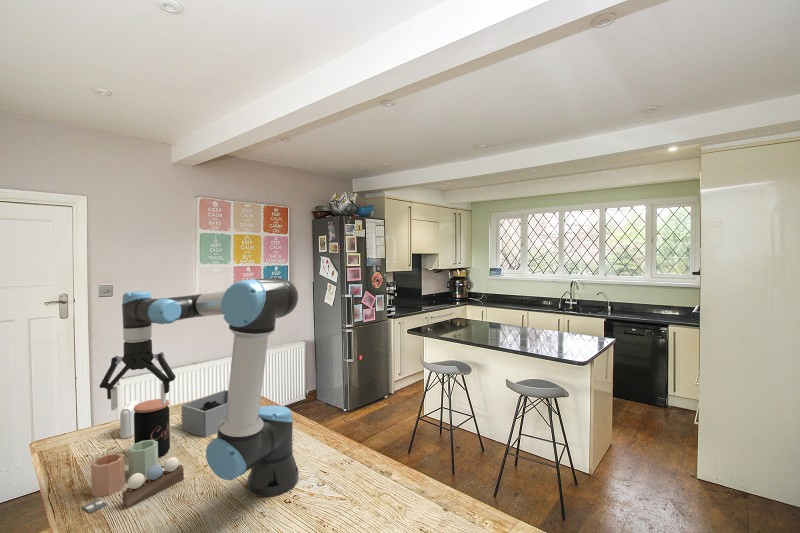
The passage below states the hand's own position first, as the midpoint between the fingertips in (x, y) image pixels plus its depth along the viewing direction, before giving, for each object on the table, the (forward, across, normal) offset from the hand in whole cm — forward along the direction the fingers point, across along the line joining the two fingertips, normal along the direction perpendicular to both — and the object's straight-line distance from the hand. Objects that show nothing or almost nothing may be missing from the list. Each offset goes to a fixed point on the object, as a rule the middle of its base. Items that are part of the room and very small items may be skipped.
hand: (139, 405), depth 123 cm
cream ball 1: (+19, -3, +15) cm, 24 cm away
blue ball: (+19, -7, +12) cm, 23 cm away
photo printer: (+23, +14, -36) cm, 45 cm away
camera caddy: (+22, -18, -35) cm, 45 cm away
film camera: (+23, -17, -35) cm, 45 cm away
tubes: (+23, +3, +5) cm, 23 cm away
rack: (+23, -7, +11) cm, 26 cm away
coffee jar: (+23, 0, -14) cm, 27 cm away
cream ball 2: (+19, -10, +8) cm, 23 cm away
